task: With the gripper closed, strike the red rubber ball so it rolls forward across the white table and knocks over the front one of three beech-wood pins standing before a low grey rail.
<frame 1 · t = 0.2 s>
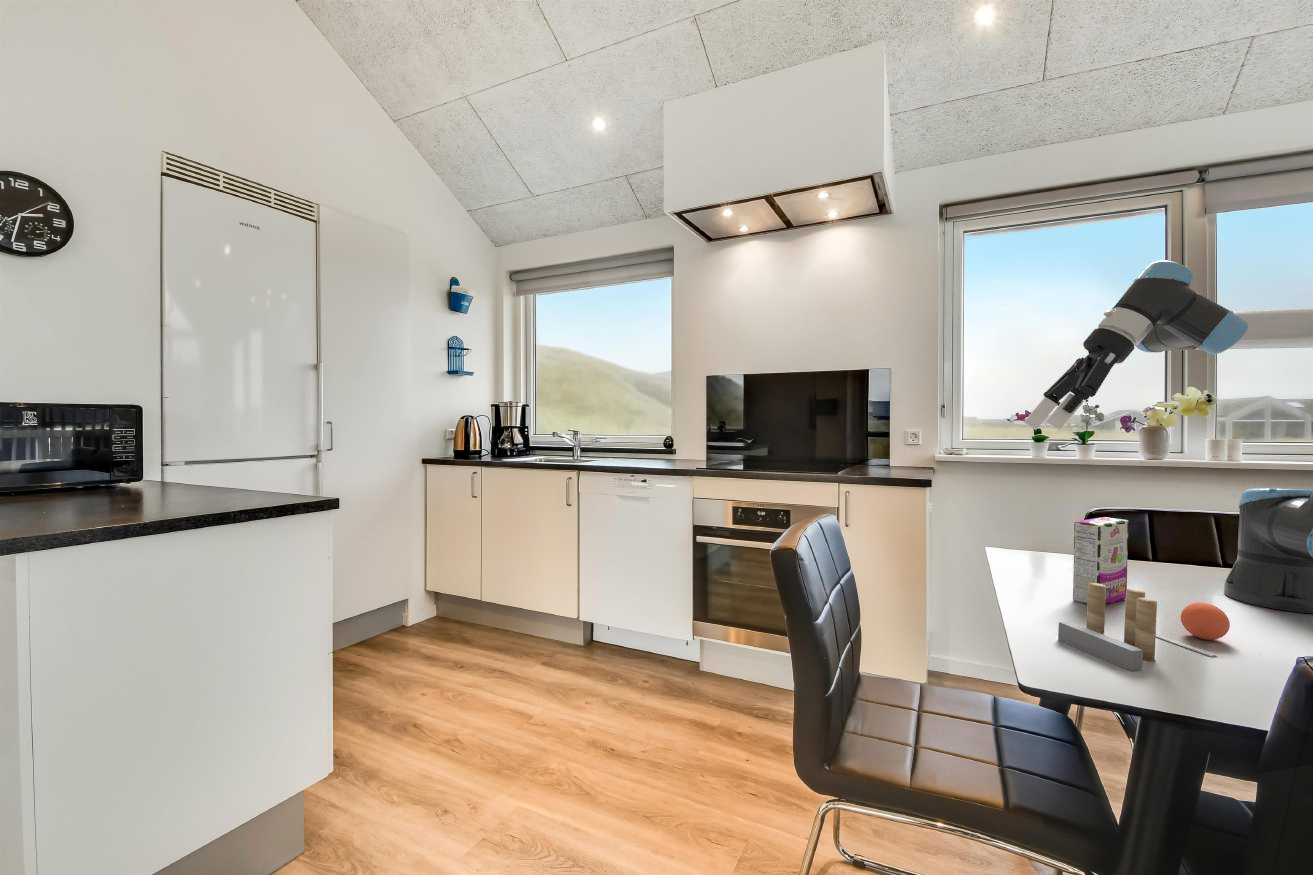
hand: (1040, 425, 115), 35 cm above the table, tool tilted 35°, fingers open, 13 cm apart
back pin left: (1144, 657, 89), on the table
back pin right: (1094, 637, 97), on the table
ball: (1204, 620, 97), on the table
foul line: (1171, 641, 96), on the table
front pin: (1133, 645, 94), on the table
candy bar box: (1098, 601, 117), on the table
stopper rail: (1097, 653, 90), on the table
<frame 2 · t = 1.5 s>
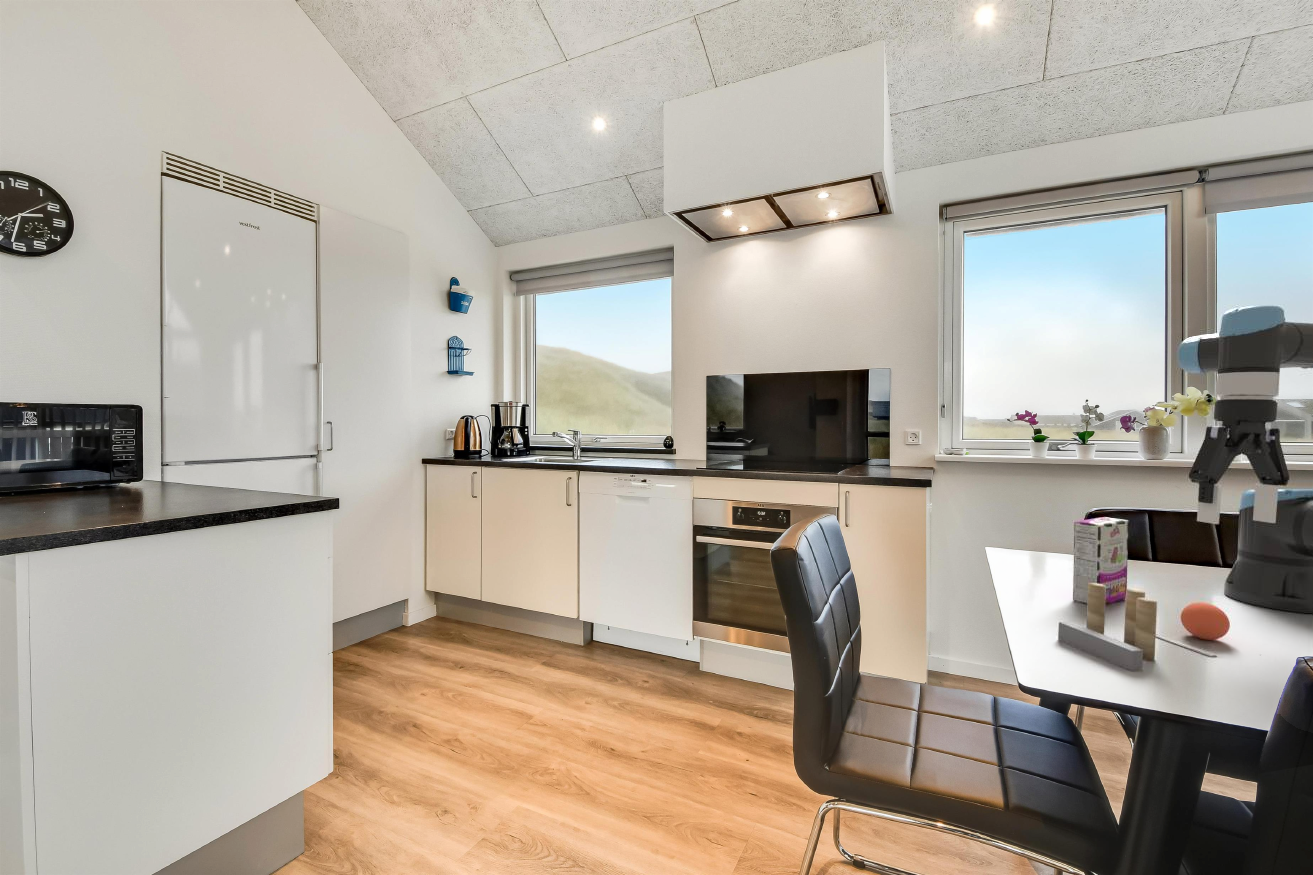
hand: (1236, 522, 99), 19 cm above the table, tool pointing down, fingers open, 13 cm apart
nothing on the table moved.
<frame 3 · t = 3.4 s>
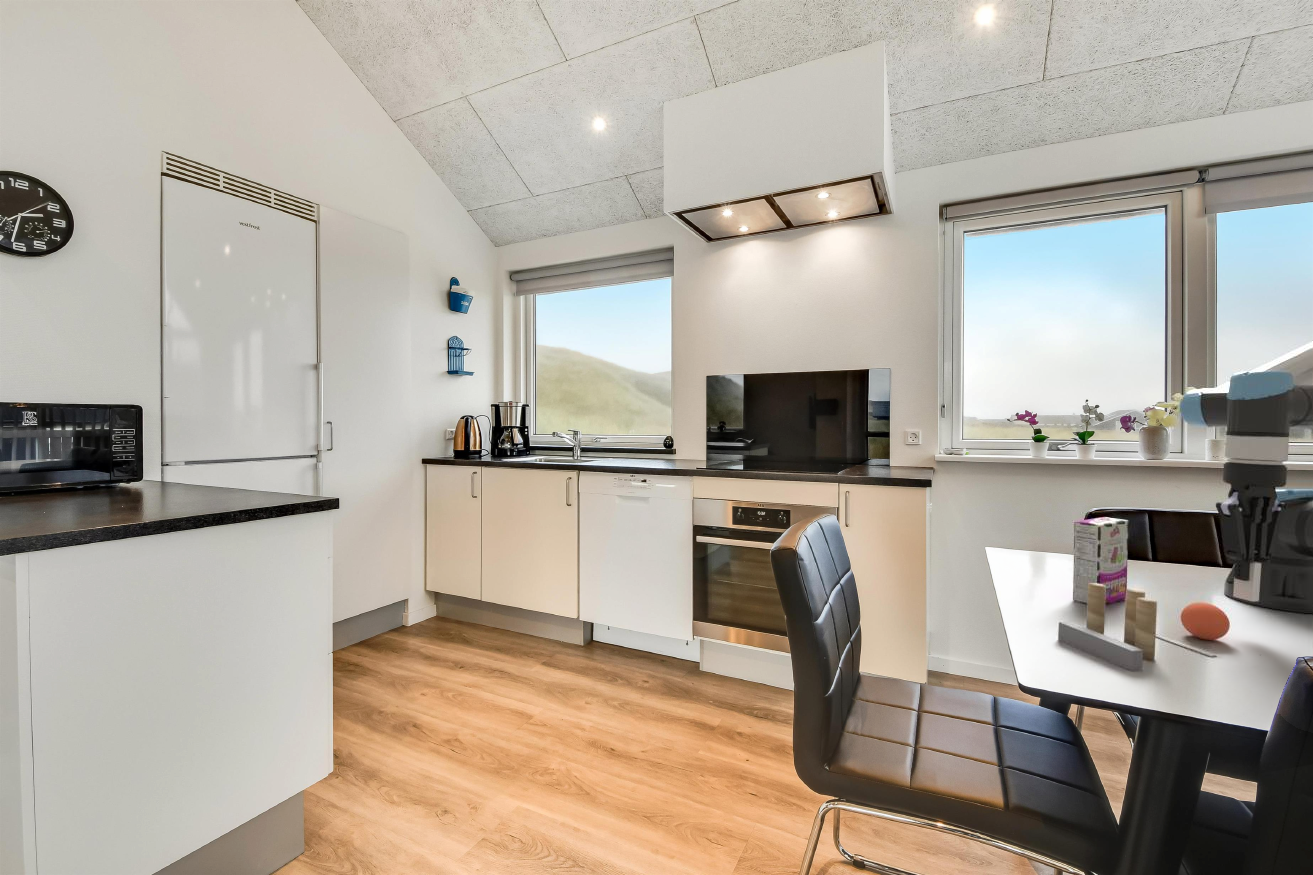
hand: (1245, 598, 99), 6 cm above the table, tool pointing down, fingers closed
nothing on the table moved.
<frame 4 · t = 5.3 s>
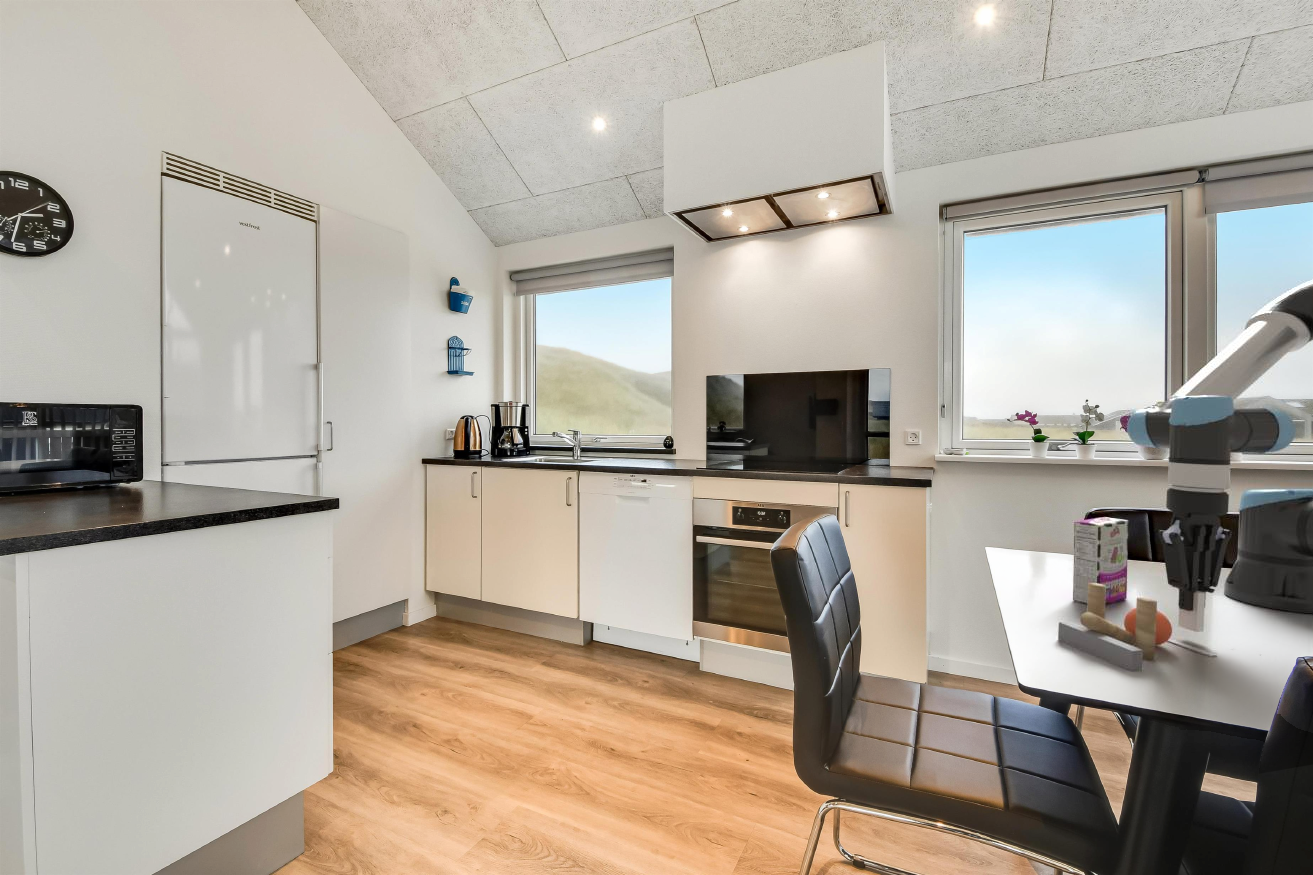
hand: (1190, 628, 96), 2 cm above the table, tool pointing down, fingers closed
ball: (1147, 626, 94), on the table
front pin: (1127, 639, 94), point 1 cm above the table, tilted 65°, touching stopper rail
everything else where it was.
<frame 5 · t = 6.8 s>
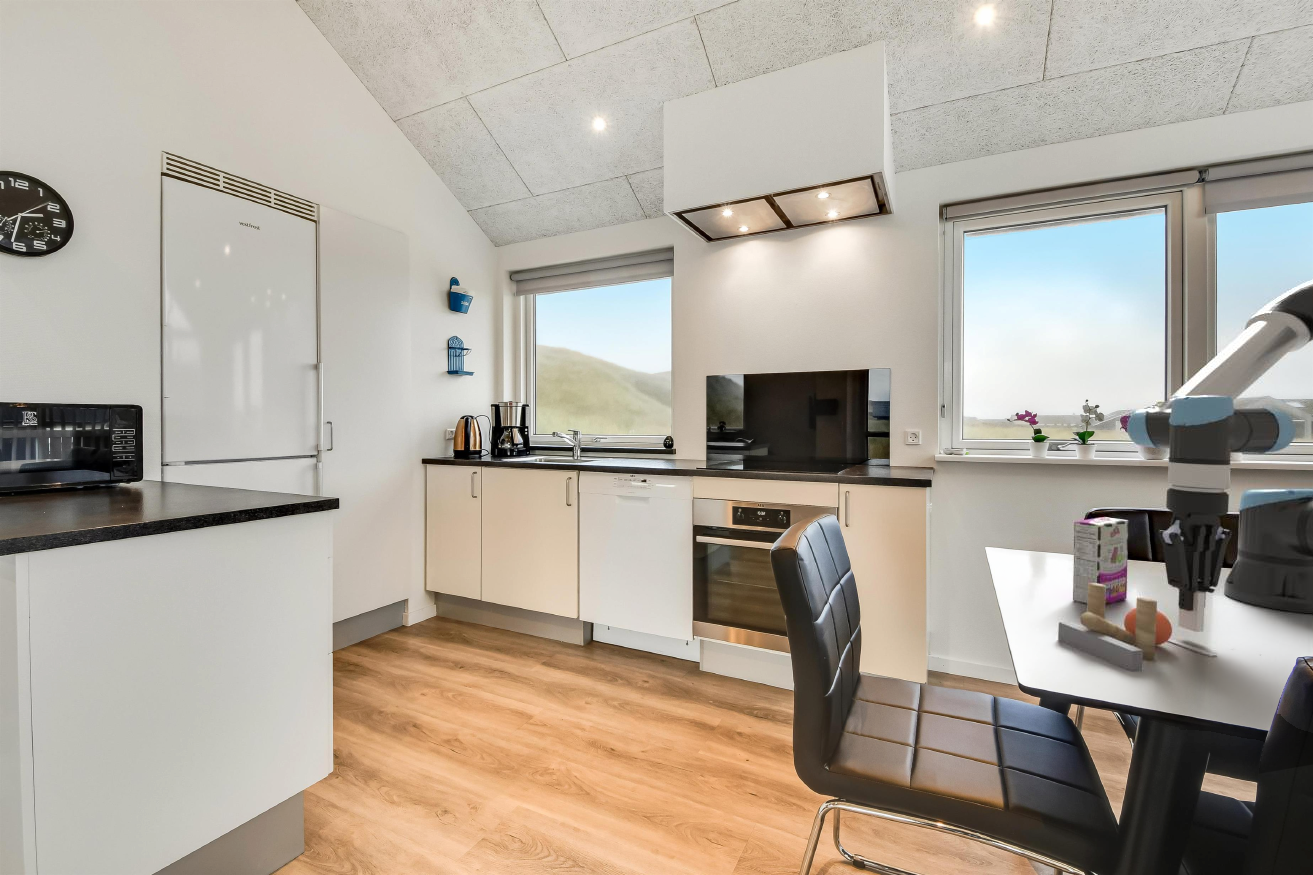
hand: (1190, 628, 96), 2 cm above the table, tool pointing down, fingers closed
nothing on the table moved.
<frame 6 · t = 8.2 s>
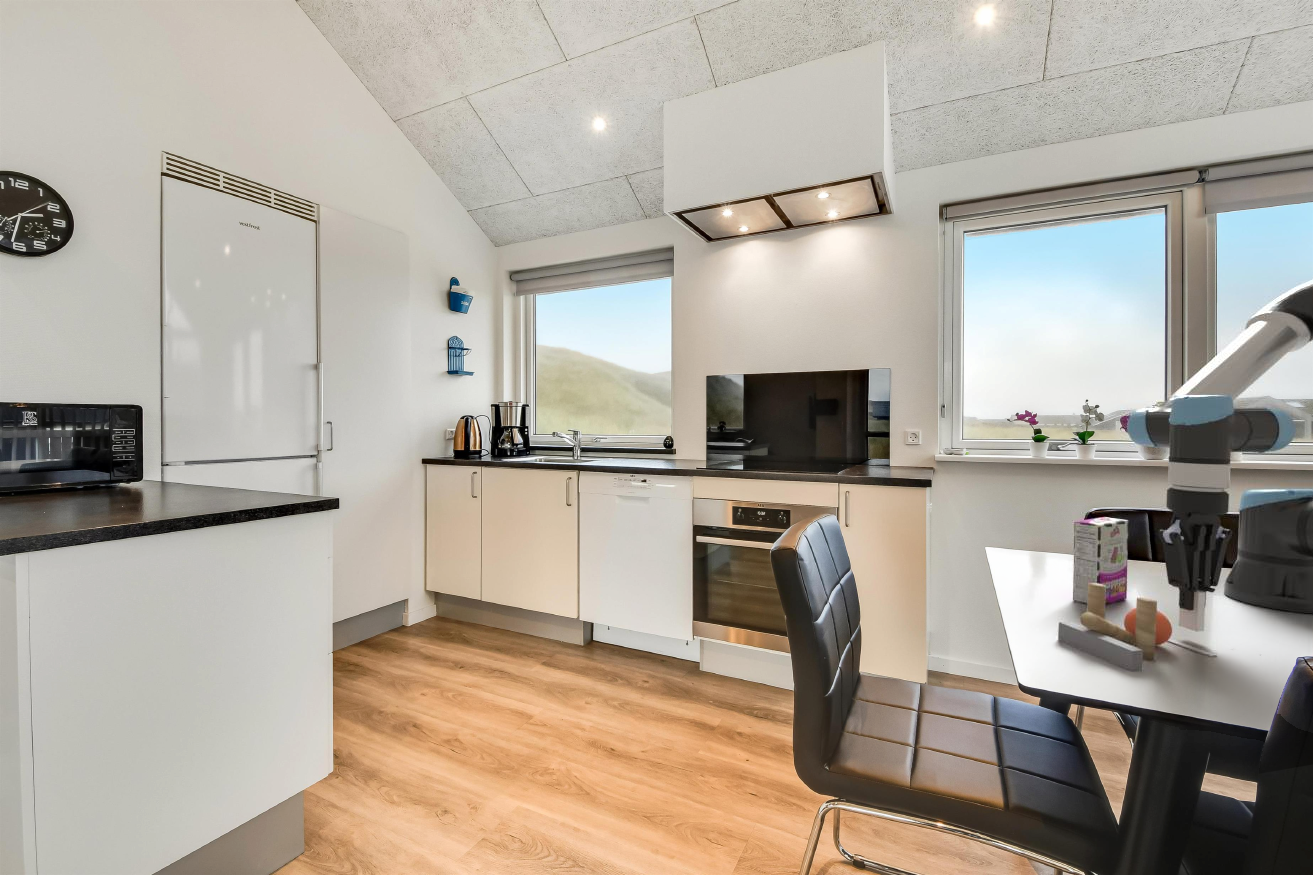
hand: (1191, 627, 96), 2 cm above the table, tool pointing down, fingers closed
nothing on the table moved.
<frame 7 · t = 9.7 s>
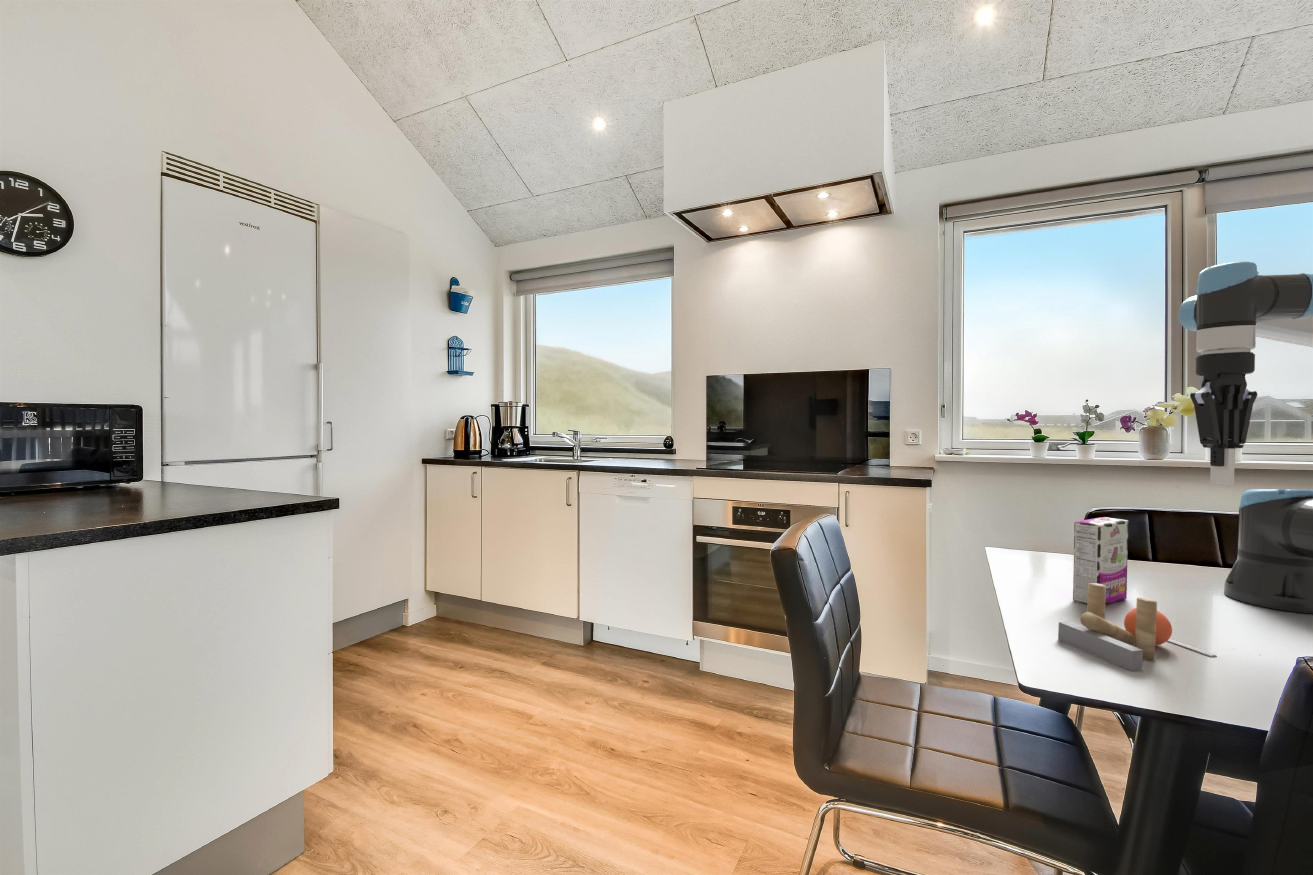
hand: (1222, 484, 103), 25 cm above the table, tool pointing down, fingers closed
nothing on the table moved.
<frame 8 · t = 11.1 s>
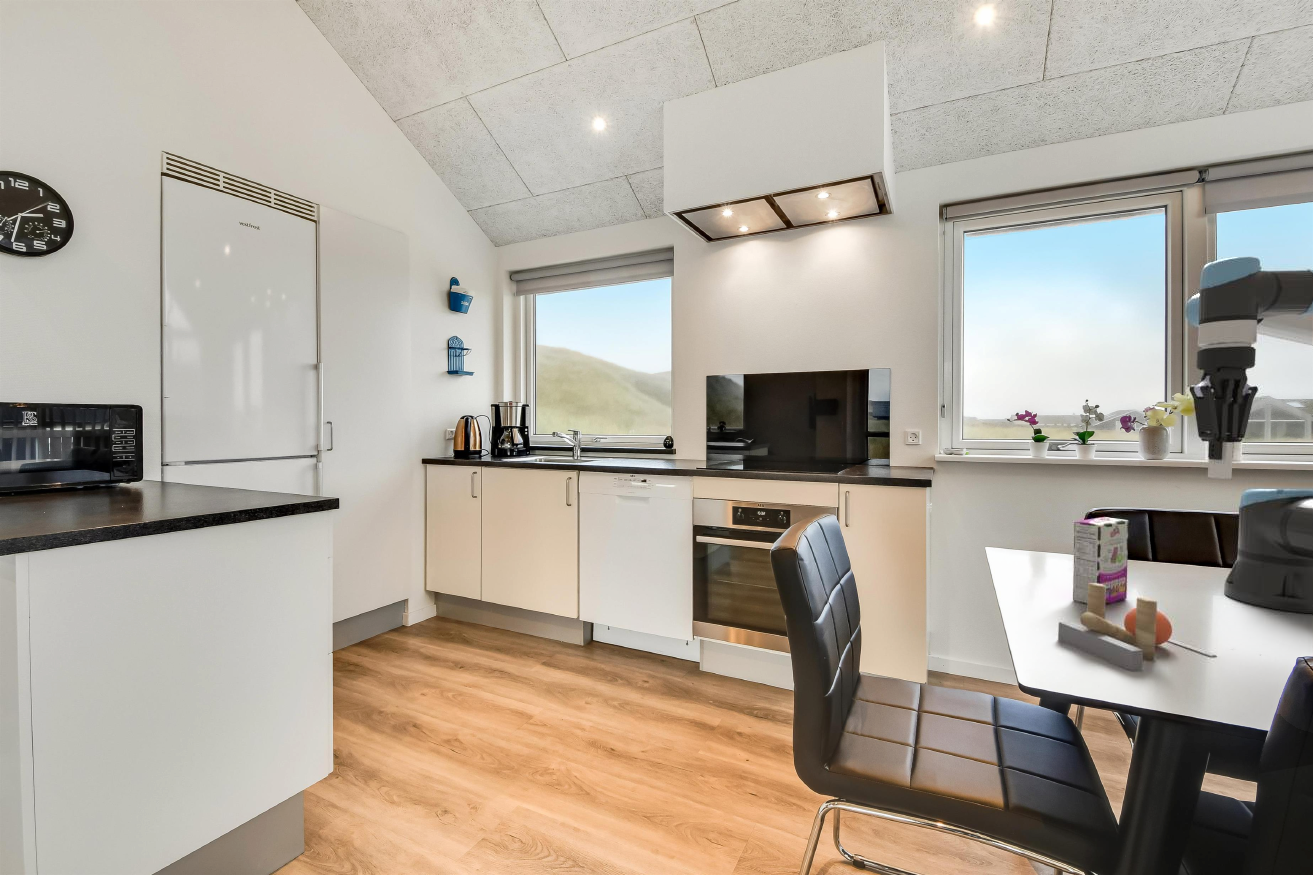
hand: (1219, 477, 104), 26 cm above the table, tool pointing down, fingers closed
front pin: (1127, 639, 94), point 1 cm above the table, tilted 65°
everything else where it was.
at the end: 1 of 3 knocked over (down: front pin; still standing: back pin right, back pin left); front pin never touched the robot; ball moved 12.2 cm from its start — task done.
